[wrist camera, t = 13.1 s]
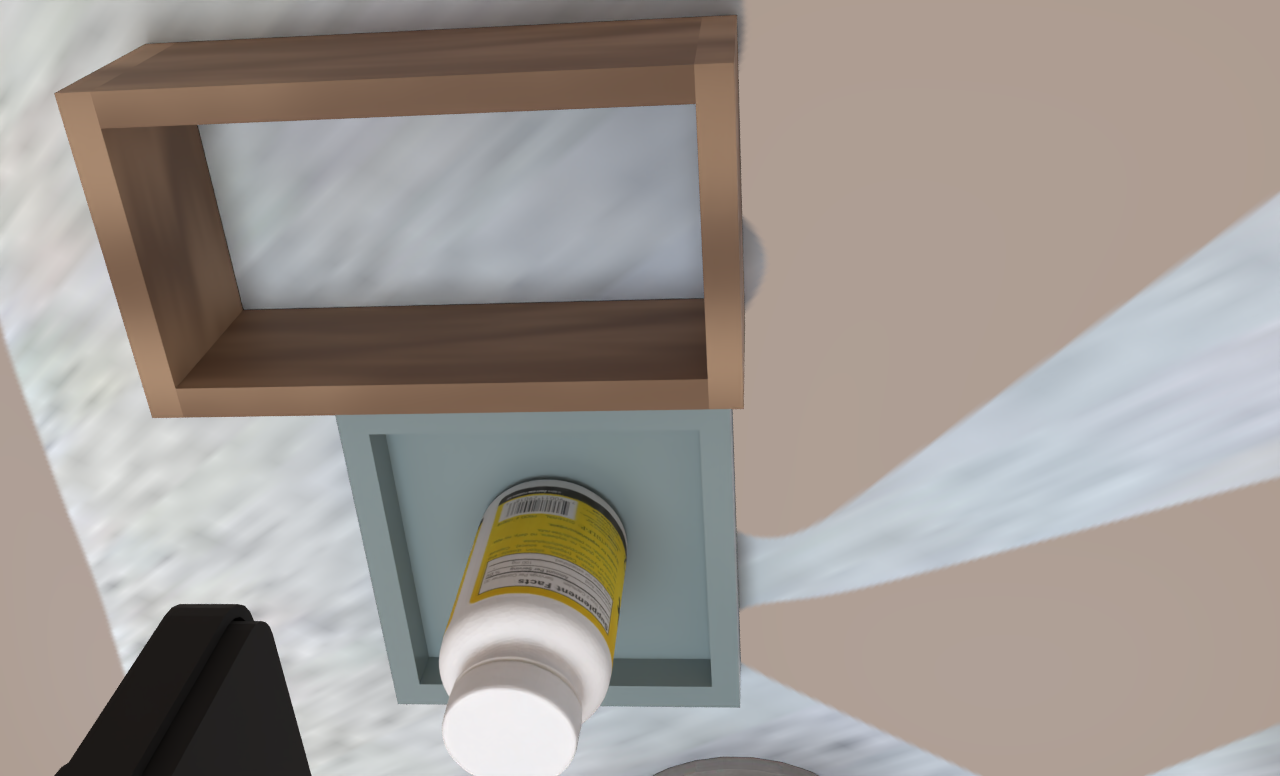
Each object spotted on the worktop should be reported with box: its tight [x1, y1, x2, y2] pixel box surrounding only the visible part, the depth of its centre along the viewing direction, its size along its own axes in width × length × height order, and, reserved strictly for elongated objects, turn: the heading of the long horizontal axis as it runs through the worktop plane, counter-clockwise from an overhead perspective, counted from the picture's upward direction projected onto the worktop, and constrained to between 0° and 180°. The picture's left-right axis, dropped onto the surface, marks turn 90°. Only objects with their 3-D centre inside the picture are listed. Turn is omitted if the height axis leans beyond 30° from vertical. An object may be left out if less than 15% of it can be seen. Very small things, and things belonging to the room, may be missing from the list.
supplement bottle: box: [439, 479, 627, 776], centre depth 39 cm, size 5×5×10 cm
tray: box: [335, 409, 741, 707], centre depth 43 cm, size 13×13×2 cm
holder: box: [54, 15, 745, 418], centre depth 36 cm, size 10×18×6 cm, turn 94°
